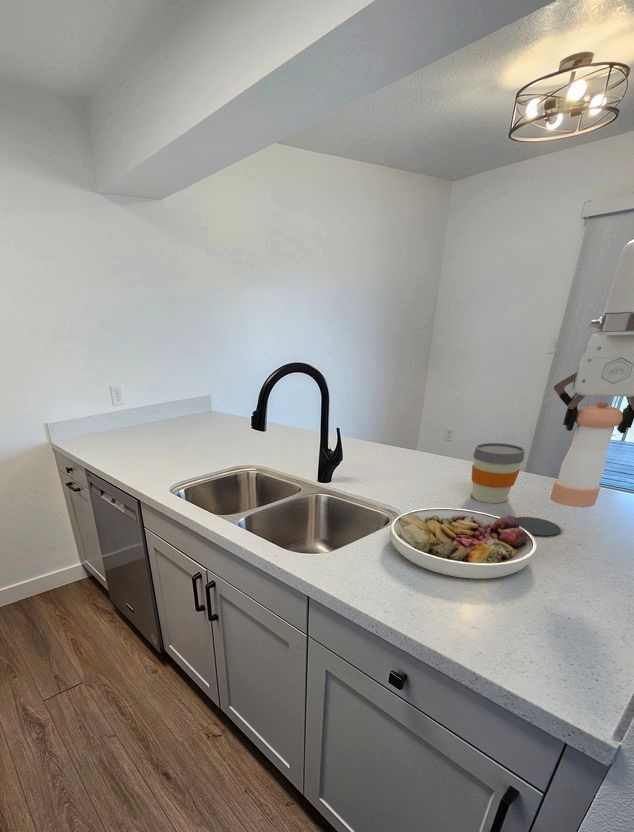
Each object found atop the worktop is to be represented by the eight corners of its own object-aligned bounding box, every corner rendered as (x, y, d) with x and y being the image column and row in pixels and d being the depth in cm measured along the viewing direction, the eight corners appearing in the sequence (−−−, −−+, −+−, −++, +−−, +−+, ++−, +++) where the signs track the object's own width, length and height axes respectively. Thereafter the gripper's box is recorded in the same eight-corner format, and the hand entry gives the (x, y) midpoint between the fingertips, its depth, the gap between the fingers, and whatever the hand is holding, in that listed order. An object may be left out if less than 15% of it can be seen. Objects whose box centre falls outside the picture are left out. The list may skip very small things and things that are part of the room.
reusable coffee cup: (512, 508, 123) (525, 456, 116) (463, 501, 129) (472, 451, 122) (513, 493, 132) (526, 444, 125) (467, 488, 138) (477, 441, 131)
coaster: (558, 522, 113) (558, 520, 113) (561, 539, 105) (562, 538, 105) (509, 515, 118) (509, 514, 118) (508, 531, 110) (508, 530, 110)
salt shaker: (597, 498, 87) (630, 400, 79) (592, 510, 83) (627, 407, 74) (553, 491, 92) (581, 398, 83) (546, 502, 87) (575, 404, 79)
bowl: (433, 594, 87) (439, 560, 84) (367, 532, 114) (370, 504, 111) (566, 575, 91) (577, 541, 87) (472, 519, 118) (478, 492, 114)
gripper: (566, 328, 74) (539, 432, 82) (706, 322, 66) (661, 438, 74) (562, 326, 80) (537, 423, 88) (690, 320, 72) (650, 428, 80)
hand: (594, 429), depth 81 cm, fingers closed on salt shaker, 7 cm apart
